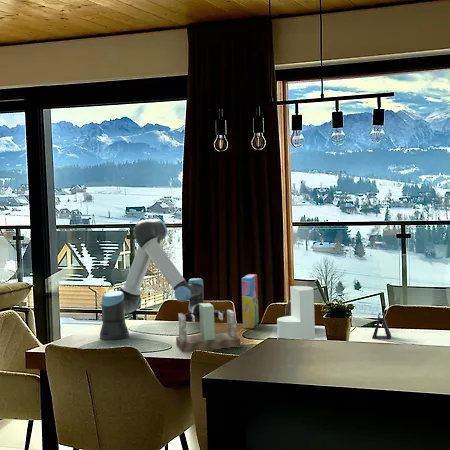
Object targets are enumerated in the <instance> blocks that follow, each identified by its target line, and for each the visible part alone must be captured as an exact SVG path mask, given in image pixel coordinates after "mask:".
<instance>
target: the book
mask: <svg viewBox="0 0 450 450" xmlns="http://www.w3.org/2000/svg"><path fill="white" fill-rule="evenodd" d="M214 310H215V307H214V305H213V304H211V303H210V302H204V303H200V304H199V311H200V320H199V333H200V334H199V335H200V336H201V337H202V338H203V339H204V340H215V334H216V332H215V331H216V330H215V329H216V328H215V317H214Z"/></svg>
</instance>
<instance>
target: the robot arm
mask: <svg viewBox="0 0 450 450" xmlns="http://www.w3.org/2000/svg"><path fill="white" fill-rule="evenodd" d="M167 234H168V228H167V225H166V224H165V222H164V221H163V220H161V219H157V218H152V219H143V220H140V221H138V222H136V224H135V225H134V228H133V237H134V239H135V241H136V244H137V245H138V247H137V250H136V252H135V255H134V258H133V261H132V263H131V265H130V268H129V271H128V274H127V277H126V280H125V282H124V283H123V284H121V285H120V288H119V290H113V291H108V292H105V293H103V294H102V295H101V302H100V303H101V314H102V315H101V317H102V324H101V327H100V331H99V339H100V340H106V341H107V340H108V341H111V340H112V341H113V340H123V339H127V338H129V336H130V331H129V329H128V325H127V324H126V323H127V322H126V314H130V313H133V312H135V311H137V310H138V309H139V308H140V306H141V305H142V296H141V295H142V290H141V287H142V284H143V282H144V279H145V276H146V274H147V271H148V268H149V266H150V262H151V261H152V262H153V264H154V265H155V266H156V267H157V268H158V270H159V272H160V273H161V275H162V276H163V277H164V278H165V280H166V281H167V282H168V284H169V285H170V286H171V288H172V289H173V291H174V293H173V294H174V298H175V299H176V301H178V302H187V301H189V303H188V312H187V313H185V314H184V315H185V316H186V321H187V320H188V322H191V321H192V322H193V323H196V320H199V321H200V311H199V304H200V303H205V300H204V298H205V297H204V280H203V279H202V278H199V277H197V278H195V277H194V278H190V279H189V280H188V282H187V281H186V279H185V278H184V277H183V275H182V274H181V273H180V271H179V269H178V268H177V267H176V266H175V264H174V263H173V261H172V260H171V259H170V257H169V256H168V255H167V254H166V251H164V249H163V248H162V246H161V245H160V244H161V241H163V240H164V239H166V237H167ZM225 317H226V311H223V310H216V309H214V318H218V319H219V320H220V321H223V320H224V318H225ZM195 319H196V320H195Z"/></svg>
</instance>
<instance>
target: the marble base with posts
mask: <svg viewBox="0 0 450 450" xmlns="http://www.w3.org/2000/svg"><path fill="white" fill-rule="evenodd" d="M177 314H178V336H176V337H175V339H176V341H175V343H176V346H177V348H178V349H179V350H180V352H181V353H189V352H195V351H194V350H203V351H214V350H222V349H221V348H227V349H231V348H230V347H237V346H241V338H240V337H238V336H237V321H236V320H237V319H236V312H235V311H233V310H232V309H227V310H226V322H227V325H226V327H227V332H220V333H218V332H217V333H215V340H204V339H203V338H202V337H201V336H200V334H193V335H187V320H186V316H185V314H184V313H183V312H180V313H177Z"/></svg>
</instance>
